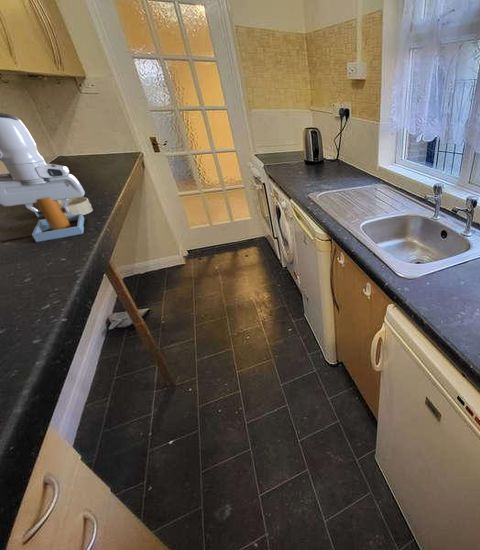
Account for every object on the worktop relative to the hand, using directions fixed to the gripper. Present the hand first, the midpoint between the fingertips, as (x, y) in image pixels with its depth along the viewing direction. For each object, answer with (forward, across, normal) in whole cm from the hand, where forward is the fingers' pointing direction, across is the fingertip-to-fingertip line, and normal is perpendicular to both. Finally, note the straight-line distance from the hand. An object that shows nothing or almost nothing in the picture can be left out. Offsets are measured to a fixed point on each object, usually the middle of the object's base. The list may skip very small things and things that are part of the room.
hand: (54, 214), depth 99 cm
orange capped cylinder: (+5, 0, 0) cm, 5 cm away
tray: (+6, 0, 0) cm, 6 cm away
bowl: (+6, +1, +18) cm, 19 cm away
